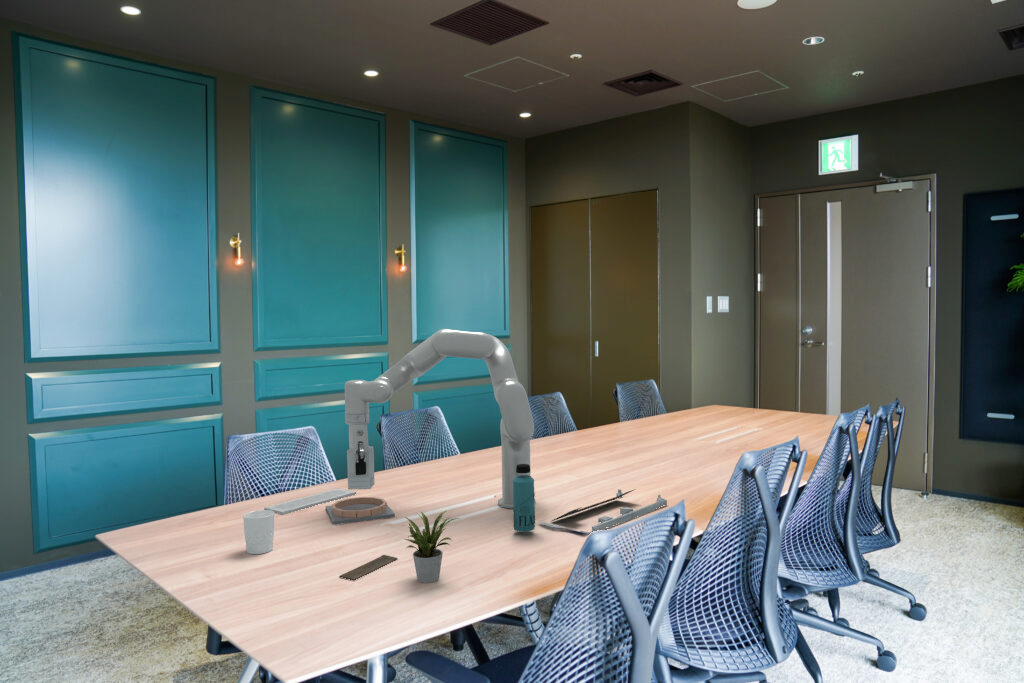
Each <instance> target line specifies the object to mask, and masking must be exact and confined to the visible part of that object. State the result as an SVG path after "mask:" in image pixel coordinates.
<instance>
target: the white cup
mask: <svg viewBox="0 0 1024 683" xmlns="http://www.w3.org/2000/svg"><path fill="white" fill-rule="evenodd" d="M242 517H243V529H244V531H243V532H244V540H245V549H246V550H245V551H246V553H247V554H249V555H262V554H265V553H266V552H267V553H269V552H271V551H273V549H274V537H275V536H274V534H275V513H274V512H273V511H270V510H264V509H263V510H262V509H261V510H260V509H259V510H254V511H253V510H252V511H250V512H247V513H245V514H244V513H243V516H242Z"/></svg>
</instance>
